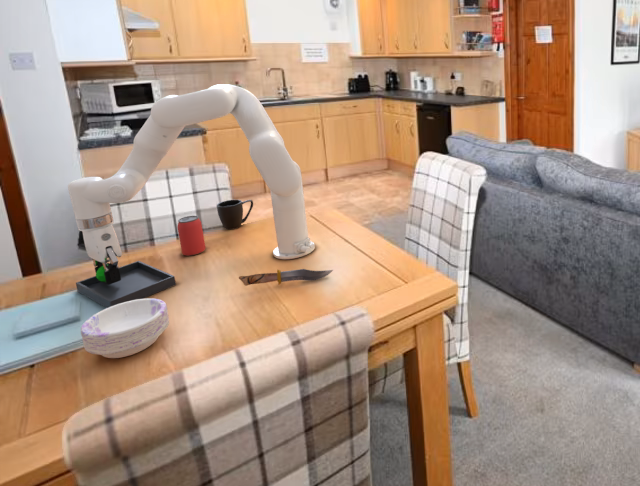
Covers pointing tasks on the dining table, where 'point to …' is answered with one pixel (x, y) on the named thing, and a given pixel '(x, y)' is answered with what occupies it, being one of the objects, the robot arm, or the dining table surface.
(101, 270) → the lime
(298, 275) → the knife
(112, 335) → the paper bowls
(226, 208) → the mug
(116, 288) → the tray
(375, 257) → the dining table surface
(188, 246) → the beer can
